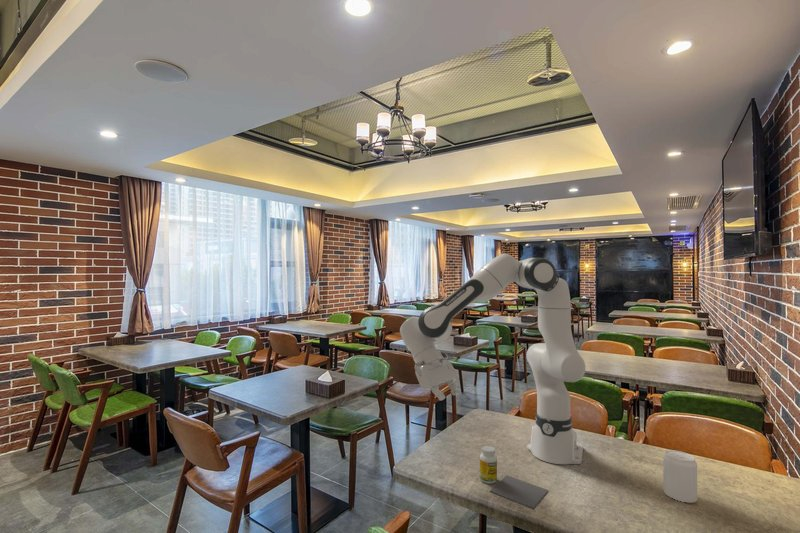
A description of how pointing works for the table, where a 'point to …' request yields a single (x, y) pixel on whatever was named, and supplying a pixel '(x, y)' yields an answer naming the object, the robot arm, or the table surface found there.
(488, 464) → the supplement bottle
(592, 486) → the table surface
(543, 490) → the rubber mat
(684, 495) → the beverage can
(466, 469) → the table surface
